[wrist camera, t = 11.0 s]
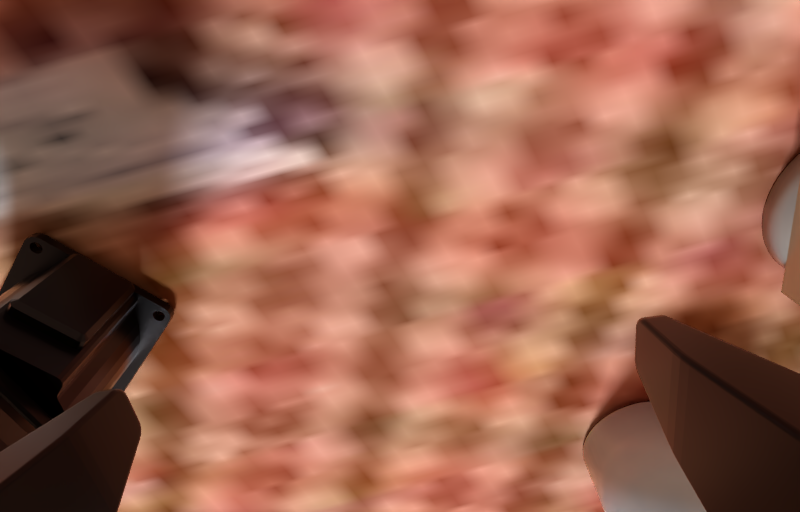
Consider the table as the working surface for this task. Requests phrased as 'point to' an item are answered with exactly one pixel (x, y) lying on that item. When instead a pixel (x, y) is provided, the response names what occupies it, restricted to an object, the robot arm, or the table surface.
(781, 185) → the press carafe
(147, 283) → the table surface
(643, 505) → the grey rounded cylinder
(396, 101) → the table surface
